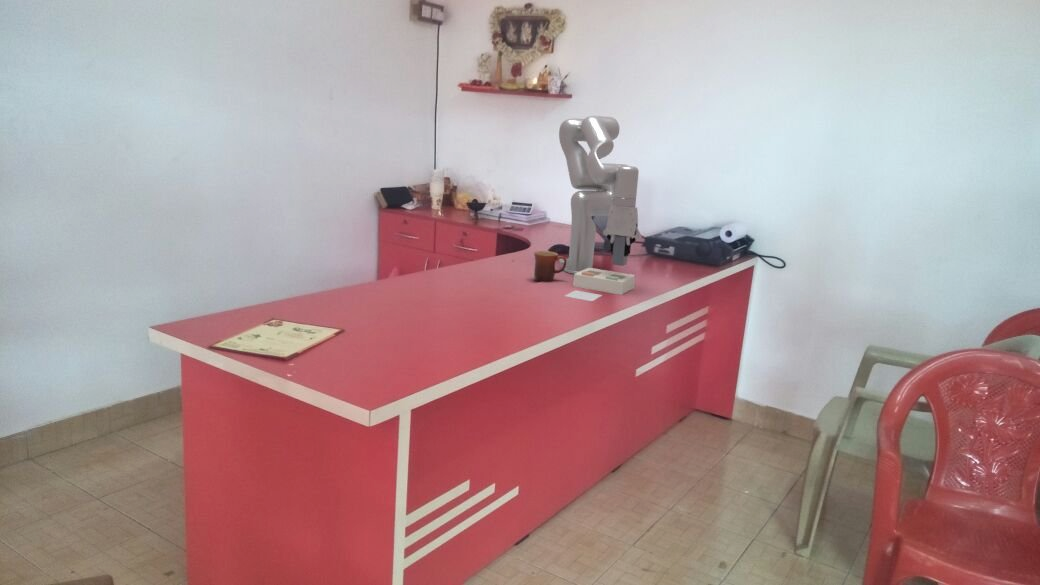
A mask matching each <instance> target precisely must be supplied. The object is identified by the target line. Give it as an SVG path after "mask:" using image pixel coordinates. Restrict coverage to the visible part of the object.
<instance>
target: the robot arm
mask: <svg viewBox="0 0 1040 585" xmlns="http://www.w3.org/2000/svg"><path fill="white" fill-rule="evenodd" d="M559 126H560V127H559V132H558V138H559V144H560V147H561V150H562V152H563V154H564V156H565V161H566V165H567V166H566V167H567V170H568V175H569V180H570V184H571V186H572V188H573V189H575V190H578V191H576V192H574V193H573V194H572V196H571V198H570V210H571V224H570V226H571V227H570V239H569V249H568V250H569V251H568V254H569V255H568V258H566V267H565V269H564V270H563V271H564V272H565V273H568V274H571V275H574V274H575V273H578V272H580V271H582V270H584V269H587V268H593V267H594V266H593V265H594V255H595V254H594V252H595V243H596V233H597V232H596V231H597V227H596V223H595V222H594V220H593V218H592V217H594V216H595V217H596V216H597V217H598V216H600V217H601V216H603V217H604V216H607V221H606V227H605V228H604V230H602V234H603V235H604V236H605V237H606V238H607V239H608V240H609V242H610V252H611V256H613V246H614V236H616V235H618V236H626V242H627V243H626V245H625V253H624V256H627V257H628V256H629V255H630V254H631V248H632V245H633V243H635V242H636V241H638V240H639V239H642V234H641V232H640V230H639V214H638V207H636V206H637V205H636V204H637V193H638V185H639V184H638V181H639V168H638V167H637V166H631V165H628V164H623V163H622V164H621V163H602V162H601V159H604V158H606V157H607V156H608V155H610V154H611V153H612V151H613V150H614V147H615V145H614V143H615V142H614V140H616V139H617V138H618V137H619V134H620V125H619V122H618V120H617V119H616V118H614V117H612V116H600V115H590V116H586V117H585V118H568V119H566V120H563V121H562V122H561V123H560V125H559ZM579 142H583V143H585V142H586V144H587V146H588V148H589V150H590V151H589V153H588V152H587V151H586V149H585V148H584V147H583V146H582V145H581V144H580V143H579ZM633 236H634V237H633ZM558 263H559V264H560V265H564V260H563V259H558Z"/></svg>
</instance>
